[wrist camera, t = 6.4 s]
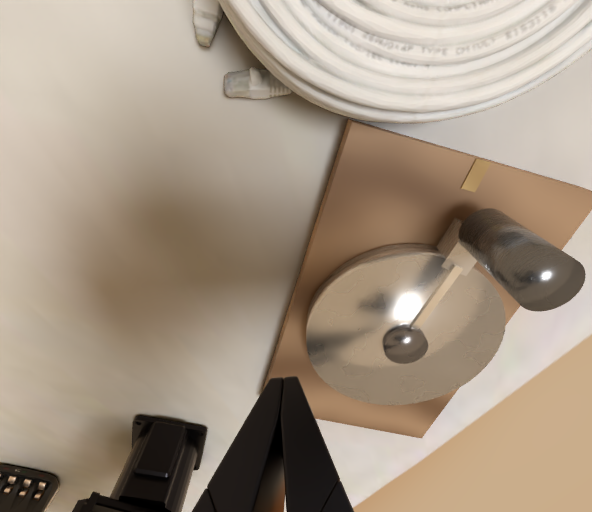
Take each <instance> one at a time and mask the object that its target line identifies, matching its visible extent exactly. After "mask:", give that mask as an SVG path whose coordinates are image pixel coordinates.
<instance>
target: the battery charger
mask: <svg viewBox="0 0 592 512" xmlns="http://www.w3.org/2000/svg"><path fill="white" fill-rule="evenodd" d="M58 490H59V485H58V481H57V479H56V478H55V477H54V476H53V475H50V474H47V473H44V472H40V471H35V470H31V469H26V468H21V467H15V466H10V465H0V512H45V511H46V509H47V508H48V506H49V504H50V503H51V501H52V500H53V498H54V497H55V495H56V493H57V492H58Z"/></svg>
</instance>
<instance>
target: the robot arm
mask: <svg viewBox="0 0 592 512" xmlns="http://www.w3.org/2000/svg"><path fill="white" fill-rule="evenodd" d="M206 435H207V429H206V428H205V427H202V426H196V425H190V424H185V423H179V422H173V421H168V420H162V419H157V418H151V417H145V416H136V417H135V419H134V421H133V432H132V451H131V453H130V455H129V457H128V459H127V461H126V463H125V466H124V468H123V470H122V472H121V474H120V476H119V478H118V481H117V483H116V485H115V487H114V489H113V491H112V494H111V496H110V498H109V497H105V496H102V495H100V493H96V492H93V493H92V494H91V496H90V498H89V499H84V500H78V502H77V504H76V506H75V507H74V509H73V511H72V512H181V511H182V508H183V504H184V501H185V497H186V494H187V490H188V486H189V483H190V479H191V476H192V472H193V470H198V469H199V467H200V463H201V458H202V454H203V449H204V445H205V440H206ZM207 488H208V489H205V490H204V492H203V494H202V495H201V497H200V499H199V501H198V502H197V504H196V506H195V507H194V509H193V511H192V512H284V502H285V495H286V509H287V512H354V511H353V508H352V506H351V504H350V501H349V499H348V497H347V495H346V492H345V490H344V487H343V485H342V482H341V481H340V478H339V475H338V473H337V471H336V468H335V466H334V463H333V461H332V459H331V456H330V454H329V451H328V449H327V446H326V444H325V442H324V439H323V437H322V434H321V432H320V429H319V427H318V425H317V422H316V420H315V417H314V415H313V412H312V410H311V408H310V405H309V403H308V400H307V398H306V396H305V393H304V391H303V388H302V386H301V383H300V381H299V379H298V377H297V376H289V377H285V378H283V377H276V378H271V379H270V380H269V381H268V383H267V384H266V386H265V388H264V390H263V391H262V393H261V395H260V396H259V398H258V400H257V402H256V403H255V405H254V407H253V408H252V410H251V412H250V413H249V415H248V417H247V419H246V420H245V422H244V424H243V425H242V427H241V429H240V431H239V432H238V434H237V436H236V437H235V439H234V441H233V443H232V444H231V446H230V448H229V449H228V451H227V453H226V455H225V456H224V458H223V460H222V461H221V463H220V465H219V467H218V468H217V470H216V472H215V473H214V475H213V477H212V479H211V480H210V482H209V484H208V486H207Z"/></svg>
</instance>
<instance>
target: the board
mask: <svg viewBox="0 0 592 512" xmlns="http://www.w3.org/2000/svg"><path fill="white" fill-rule="evenodd" d="M485 208H493V209H497V210H499V211H501V212H503V213H504V214H506V215H507V216H509V217H511V218H512V219H514V220H515V221H517V222H518V223H520V224H521V225H523V226H524V227H526V228H528V229H529V230H531V231H532V232H534V233H535V234H537V235H538V236H540V237H541V238H543V239H545V240H546V241H548V242H549V243H551V244H552V245H554V246H555V247H557V248H558V249H560V250H562V249H563V248H564V246H565V245H566V243H567V242H568V241H569V239H570V238H571V237H572V235H573V234H574V233H575V231H576V230H577V229H578V227H579V226H580V225H581V223H582V222H583V221H584V219H585V218H586V217H587V215H588V214H589V213H590V211H591V210H592V191H590V190H588V189H585V188H582V187H579V186H576V185H572V184H569V183H566V182H562V181H559V180H555V179H552V178H549V177H545V176H542V175H538V174H535V173H532V172H528V171H525V170H521V169H518V168H515V167H511V166H508V165H504V164H501V163H498V162H494V161H491V160H487V159H484V158H481V157H477V156H474V155H470V154H467V153H463V152H460V151H457V150H453V149H450V148H446V147H443V146H440V145H436V144H433V143H429V142H426V141H423V140H419V139H416V138H412V137H409V136H406V135H402V134H399V133H395V132H392V131H389V130H385V129H382V128H378V127H375V126H371V125H368V124H365V123H361V122H358V121H354V120H351V119H348V122H347V125H346V128H345V131H344V134H343V137H342V141H341V144H340V147H339V150H338V153H337V156H336V160H335V163H334V166H333V169H332V172H331V175H330V178H329V182H328V185H327V188H326V191H325V194H324V197H323V201H322V204H321V207H320V210H319V213H318V216H317V220H316V223H315V226H314V229H313V232H312V235H311V239H310V242H309V245H308V248H307V251H306V254H305V257H304V261H303V264H302V267H301V270H300V273H299V276H298V280H297V283H296V286H295V289H294V292H293V295H292V299H291V302H290V305H289V308H288V311H287V314H286V318H285V321H284V324H283V327H282V330H281V333H280V337H279V340H278V343H277V346H276V349H275V352H274V355H273V359H272V362H271V365H270V368H269V371H268V374H267V378H266V381H265V384H264V387H263V390H264V388H265V386H266V384H267V383H268V381H269V380H270V379H271V378H276V377H283V378H285V377H289V376H297V377H298V379H299V381H300V383H301V386H302V388H303V391H304V393H305V396H306V398H307V400H308V403H309V405H310V408H311V410H312V412H313V415H314V417H315V418H316V419H321V420H326V421H332V422H337V423H342V424H348V425H353V426H358V427H364V428H369V429H375V430H380V431H385V432H391V433H396V434H401V435H407V436H412V437H417V438H422V437H423V436H424V434H425V433H426V432H427V430H428V429H429V428H430V426H431V425H432V424H433V422H434V421H435V419H436V418H437V417H438V415H439V414H440V413H441V411H442V410H443V409H444V407H445V406H446V405H447V403H448V402H449V401H450V399H451V398H452V397H453V395H454V394H455V393H456V391H457V390H458V389H459V388H457V389H455V390H453V391H451V392H449V393H447V394H445V395H442V396H440V397H437V398H434V399H431V400H427V401H423V402H419V403H413V404H406V405H379V404H371V403H367V402H362V401H359V400H356V399H353V398H350V397H348V396H345V395H343V394H341V393H339V392H338V391H336V390H335V389H333V388H332V387H330V386H329V385H328V384H327V383H325V382H324V381H323V379H322V378H321V377H320V376H319V375H318V374H317V372H316V371H315V369H314V368H313V366H312V363H311V361H310V359H309V355H308V352H307V343H306V322H307V314H308V310H309V306H310V304H311V301H312V299H313V297H314V295H315V294H316V292H317V290H318V288H319V287H320V286H321V285H322V283H323V282H324V281H325V280H326V279H327V278H328V277H329V276H330V275H331V274H332V273H333V272H334V271H335V270H337V269H338V268H339V267H341V266H342V265H343V264H345V263H346V262H348V261H350V260H351V259H353V258H355V257H357V256H359V255H361V254H364V253H366V252H368V251H371V250H375V249H378V248H381V247H386V246H391V245H397V244H426V245H432V246H437V244H438V243H439V241H440V240H441V238H442V236H443V235H444V233H445V232H446V230H447V229H448V227H449V226H450V224H451V223H452V221H453V220H454V218H456V219H459V220H461V221H464V220H465V219H466V218H467V217H468V216H470V215H471V214H472V213H474V212H476V211H478V210H481V209H485ZM474 266H475V267H476V268H477V269H478V270H479V271H480V272H481V273H482V274H483V275H484V276H485V277H486V278H487V279H488V280H489V281H490V282H491V284H492V285H493V286H494V287H495V289H496V290H497V291H498V293H499V295H500V297H501V299H502V302H503V305H504V309H505V317H506V324H507V323H508V321H509V320H510V319H511V317H512V316H513V315H514V313H515V312H516V311H517V309H518V308H519V307H520V304H519V303H518V302H517V301H516V300H515V299H514V298H513V297H512V296H511V295H510V294H509V293H508V292H507V291H506V290H505V289H504V288H503V287H502V286H501V285H500V284H499V283H498V282H497V281H496V280H495V279H494V278H493V277H492V276H491V275H490V274H489V273H488V272H487V271H486V270H485V269H484V268H483V267H482V266H481V264H480V263H479V262H478V261H477V262H476V264H475V265H474ZM506 324H505V325H506ZM263 390H262V391H263Z"/></svg>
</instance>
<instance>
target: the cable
mask: <svg viewBox="0 0 592 512" xmlns="http://www.w3.org/2000/svg"><path fill="white" fill-rule="evenodd" d="M223 10H224V12H225V14H226V16H227V17H228V19H229V21H230V22H231V24H232V25H233V27H234V29H235V30H236V32H237V33H238V35H239V36H240V38H241V39H242V40H243V42H244V43H245V44H246V46H247V47H248V48H249V50H250V51H251V52H252V53H253V54H254V55H255V56H256V57H257V59H258V60H259V61H260V62H261V63H262V64H263V65H264V66H265V67H266V68H267V69H268V70H265V69H257V68H254V67H251V68H250V70H244V71H237V72H228V73H227V74H226V75H225V76H224V91H225V94H226V95H227V96H228V97H230V98H231V97H237V96H238V97H247V98H252V99H259V98H262V99H268V98H270V97H275V96H281V95H287V94H291V91H293V92H295V93H296V94H298V95H300V96H301V97H303V98H305V99H306V100H308V101H309V102H311V103H314V104H316V105H318V106H320V107H322V108H324V109H326V110H329V111H331V112H334V113H337V114H340V115H343V116H346V117H351V118H355V119H359V120H364V121H373V122H389V123H410V124H411V123H426V122H434V121H442V120H447V119H453V118H457V117H462V116H466V115H470V114H474V113H477V112H481V111H484V110H487V109H490V108H493V107H495V106H498V105H500V104H503V103H505V102H507V101H509V100H512V99H514V98H516V97H518V96H520V95H522V94H524V93H526V92H528V91H530V90H532V89H534V88H536V87H538V86H539V85H541V84H543V83H544V82H546V81H548V80H549V79H551V78H552V77H554V76H555V75H557V74H558V73H560V72H562V71H563V70H565V69H566V68H567V67H569V66H570V65H571V64H573V63H574V62H575V61H577V60H578V59H579V58H581V57H582V56H583V55H585V54H586V53H587V52H589V51H590V50H591V49H592V0H194V2H193V24H194V26H195V30H196V38H197V40H198V42H199V44H200V45H202V46H207V47H209V46H210V44H211V41H212V39H213V37H214V35H215V33H216V30H217V28H218V25H219V23H220V21H221V18H222V15H223Z"/></svg>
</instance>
